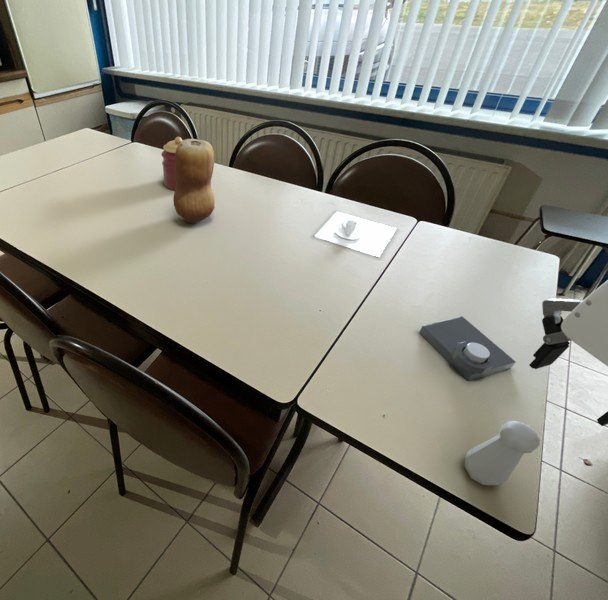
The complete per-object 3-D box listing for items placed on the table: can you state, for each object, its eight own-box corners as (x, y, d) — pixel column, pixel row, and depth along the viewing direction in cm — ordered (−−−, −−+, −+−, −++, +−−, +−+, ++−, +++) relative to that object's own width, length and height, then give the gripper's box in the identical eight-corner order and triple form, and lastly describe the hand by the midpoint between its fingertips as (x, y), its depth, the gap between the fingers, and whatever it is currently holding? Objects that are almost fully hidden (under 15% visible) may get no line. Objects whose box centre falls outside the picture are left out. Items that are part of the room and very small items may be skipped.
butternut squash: (217, 227, 118) (219, 148, 101) (176, 231, 116) (170, 151, 100) (210, 207, 128) (211, 132, 111) (172, 210, 127) (167, 135, 110)
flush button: (490, 360, 72) (495, 355, 71) (474, 365, 72) (478, 359, 70) (474, 346, 75) (478, 340, 74) (458, 350, 74) (462, 344, 73)
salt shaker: (474, 449, 63) (517, 407, 54) (507, 480, 59) (559, 440, 50) (451, 464, 61) (492, 423, 52) (484, 497, 57) (533, 459, 48)
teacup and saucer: (341, 224, 120) (344, 212, 117) (365, 231, 116) (369, 219, 113) (331, 235, 114) (334, 224, 111) (356, 243, 111) (360, 232, 108)
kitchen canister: (186, 174, 149) (185, 129, 138) (203, 186, 141) (203, 138, 129) (158, 181, 144) (153, 135, 132) (173, 194, 136) (170, 145, 124)
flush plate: (512, 370, 75) (523, 357, 73) (465, 384, 73) (475, 371, 70) (457, 322, 86) (465, 310, 83) (415, 333, 83) (422, 320, 80)
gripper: (878, 337, 28) (678, 448, 39) (623, 224, 40) (529, 334, 52) (818, 359, 26) (628, 468, 38) (572, 234, 38) (487, 346, 50)
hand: (571, 390), depth 45 cm, fingers open, 7 cm apart
